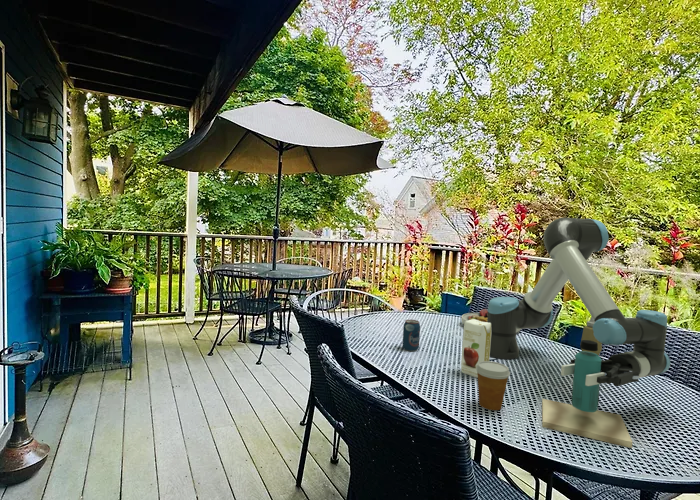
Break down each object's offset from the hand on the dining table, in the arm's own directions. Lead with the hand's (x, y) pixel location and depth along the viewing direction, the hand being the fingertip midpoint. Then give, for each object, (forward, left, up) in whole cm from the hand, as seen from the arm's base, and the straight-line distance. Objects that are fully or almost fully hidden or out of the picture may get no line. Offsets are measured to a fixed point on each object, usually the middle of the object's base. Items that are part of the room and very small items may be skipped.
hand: (574, 375), depth 107 cm
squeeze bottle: (+12, +76, -14) cm, 78 cm away
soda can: (-57, +40, -14) cm, 71 cm away
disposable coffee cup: (-21, +2, -14) cm, 25 cm away
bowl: (-31, +98, -15) cm, 104 cm away
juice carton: (-29, +26, -14) cm, 41 cm away
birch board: (+3, +4, -14) cm, 15 cm away
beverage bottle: (+3, +4, -11) cm, 12 cm away
